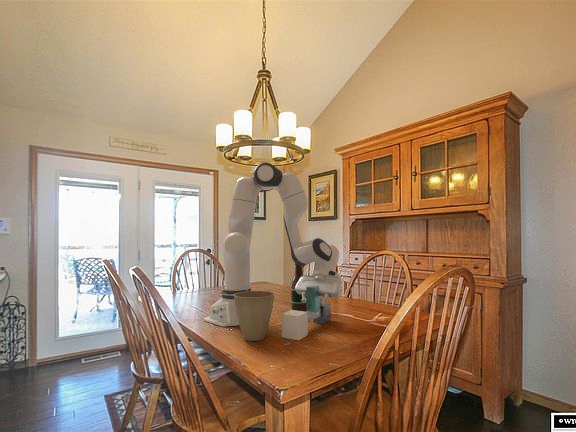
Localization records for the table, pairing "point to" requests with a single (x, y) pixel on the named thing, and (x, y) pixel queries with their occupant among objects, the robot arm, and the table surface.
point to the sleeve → (324, 314)
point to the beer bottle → (295, 297)
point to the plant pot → (254, 313)
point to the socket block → (294, 324)
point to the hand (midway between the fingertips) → (312, 303)
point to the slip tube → (313, 303)
